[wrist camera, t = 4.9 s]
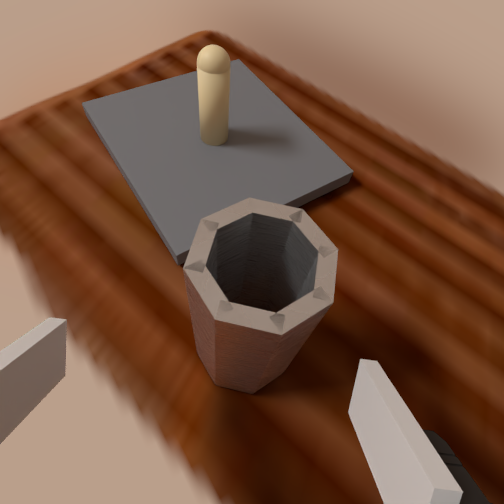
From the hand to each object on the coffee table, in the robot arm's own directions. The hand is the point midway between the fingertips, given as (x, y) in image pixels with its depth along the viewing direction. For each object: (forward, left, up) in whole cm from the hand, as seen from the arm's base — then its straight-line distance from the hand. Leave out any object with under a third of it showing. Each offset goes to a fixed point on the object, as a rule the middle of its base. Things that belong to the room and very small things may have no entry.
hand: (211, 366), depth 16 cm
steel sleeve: (+2, -4, -8) cm, 9 cm away
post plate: (+20, -12, -8) cm, 24 cm away
